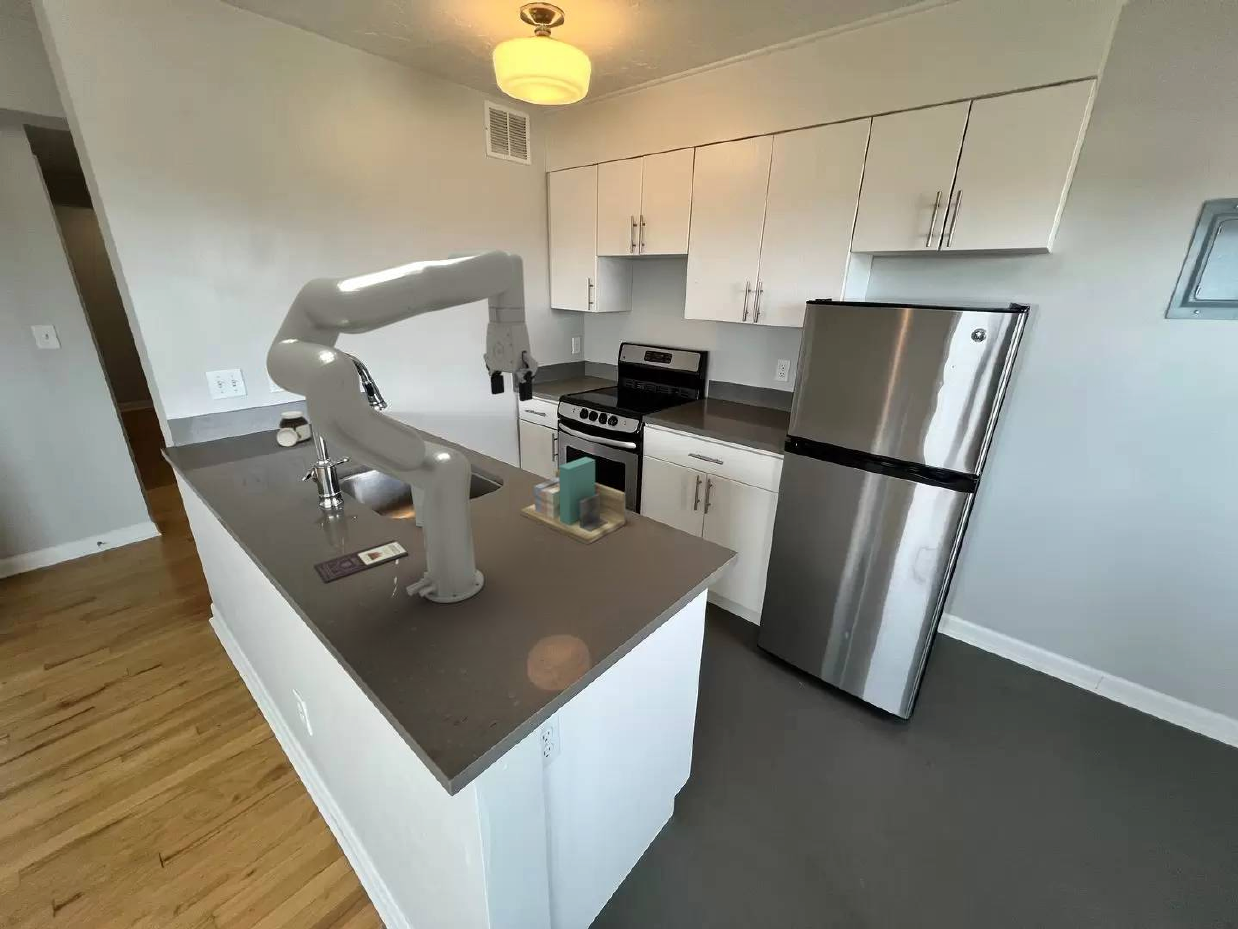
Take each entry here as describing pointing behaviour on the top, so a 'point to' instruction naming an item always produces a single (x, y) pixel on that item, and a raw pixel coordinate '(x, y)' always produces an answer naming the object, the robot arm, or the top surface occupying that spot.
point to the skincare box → (417, 503)
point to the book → (575, 487)
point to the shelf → (595, 511)
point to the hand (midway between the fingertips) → (511, 396)
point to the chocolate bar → (360, 561)
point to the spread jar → (293, 429)
